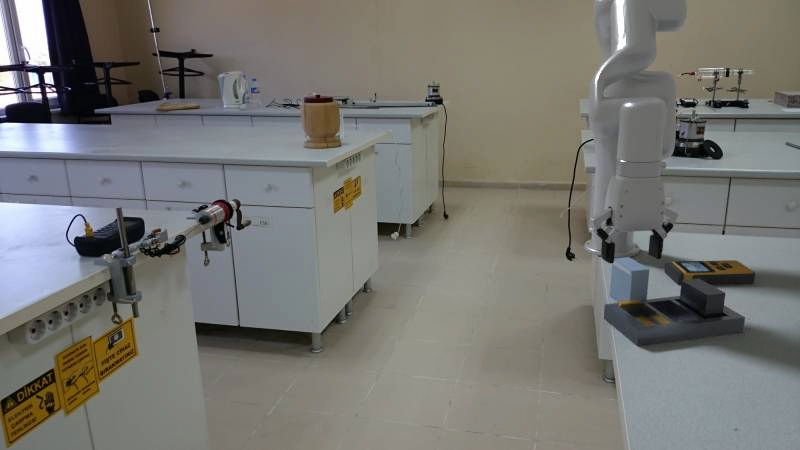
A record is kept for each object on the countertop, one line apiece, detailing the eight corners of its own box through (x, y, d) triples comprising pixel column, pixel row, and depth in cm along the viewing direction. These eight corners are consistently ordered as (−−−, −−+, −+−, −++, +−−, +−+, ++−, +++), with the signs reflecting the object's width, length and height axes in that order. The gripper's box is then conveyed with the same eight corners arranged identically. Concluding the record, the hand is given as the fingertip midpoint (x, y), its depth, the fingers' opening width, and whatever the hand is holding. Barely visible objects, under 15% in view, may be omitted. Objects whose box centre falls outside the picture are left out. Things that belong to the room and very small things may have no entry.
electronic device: (756, 287, 125) (758, 271, 124) (678, 288, 126) (680, 272, 125) (735, 272, 133) (737, 257, 132) (663, 273, 134) (664, 258, 133)
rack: (603, 318, 112) (606, 284, 110) (701, 306, 116) (704, 273, 114) (637, 346, 102) (640, 308, 100) (743, 332, 105) (748, 295, 103)
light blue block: (609, 296, 122) (612, 258, 120) (625, 294, 122) (628, 257, 120) (628, 310, 115) (632, 271, 113) (645, 308, 116) (649, 269, 114)
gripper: (668, 163, 116) (660, 250, 121) (584, 168, 113) (579, 257, 117) (694, 170, 109) (685, 261, 113) (604, 175, 106) (599, 269, 110)
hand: (631, 259), depth 115 cm, fingers open, 9 cm apart
